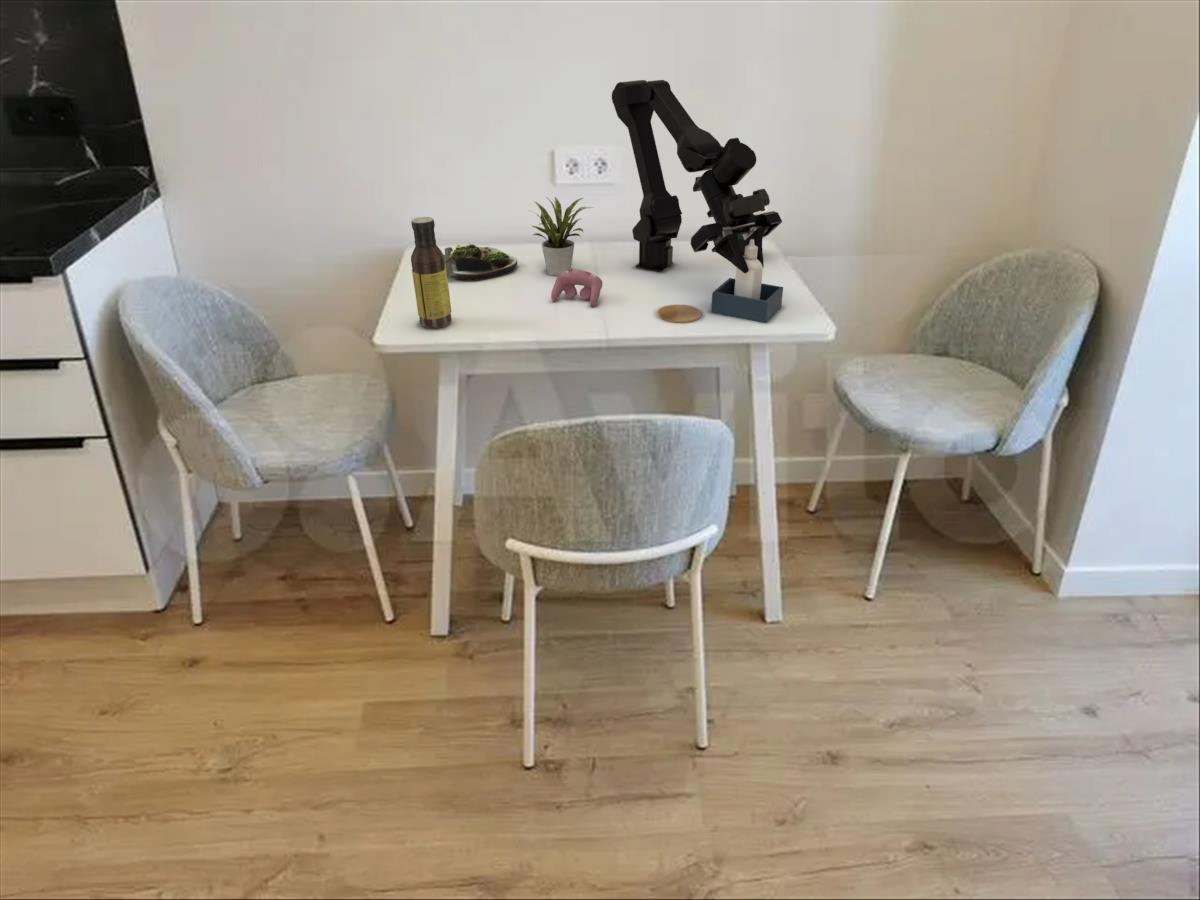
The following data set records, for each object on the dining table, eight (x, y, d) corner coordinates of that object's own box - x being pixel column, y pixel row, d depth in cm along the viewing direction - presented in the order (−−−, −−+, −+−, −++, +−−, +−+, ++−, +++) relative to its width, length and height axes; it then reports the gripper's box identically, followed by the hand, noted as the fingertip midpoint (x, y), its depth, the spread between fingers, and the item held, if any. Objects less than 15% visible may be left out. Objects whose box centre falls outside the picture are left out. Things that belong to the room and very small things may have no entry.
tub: (710, 312, 172) (712, 292, 170) (728, 297, 179) (729, 277, 177) (765, 322, 168) (767, 302, 165) (781, 306, 175) (783, 286, 172)
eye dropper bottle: (738, 305, 170) (743, 244, 164) (732, 294, 175) (737, 235, 169) (760, 305, 170) (766, 244, 164) (754, 294, 175) (760, 235, 169)
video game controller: (601, 308, 178) (606, 273, 177) (594, 306, 174) (599, 270, 173) (555, 303, 181) (560, 268, 180) (548, 300, 177) (553, 265, 176)
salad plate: (415, 262, 199) (412, 242, 196) (485, 247, 207) (483, 228, 205) (454, 287, 185) (452, 265, 183) (527, 270, 194) (526, 249, 191)
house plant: (603, 262, 198) (603, 189, 189) (590, 283, 186) (589, 206, 178) (541, 258, 200) (538, 186, 192) (524, 279, 189) (521, 202, 180)
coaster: (650, 317, 170) (650, 315, 170) (668, 303, 176) (668, 301, 176) (690, 325, 166) (690, 323, 166) (707, 311, 173) (707, 309, 173)
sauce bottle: (458, 320, 169) (449, 217, 159) (440, 331, 164) (429, 226, 154) (430, 314, 172) (419, 212, 161) (411, 326, 167) (398, 221, 157)
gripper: (703, 182, 159) (738, 258, 157) (781, 168, 168) (815, 241, 165) (675, 214, 169) (707, 287, 166) (749, 200, 177) (781, 269, 175)
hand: (754, 270), depth 168 cm, fingers closed on eye dropper bottle, 3 cm apart
